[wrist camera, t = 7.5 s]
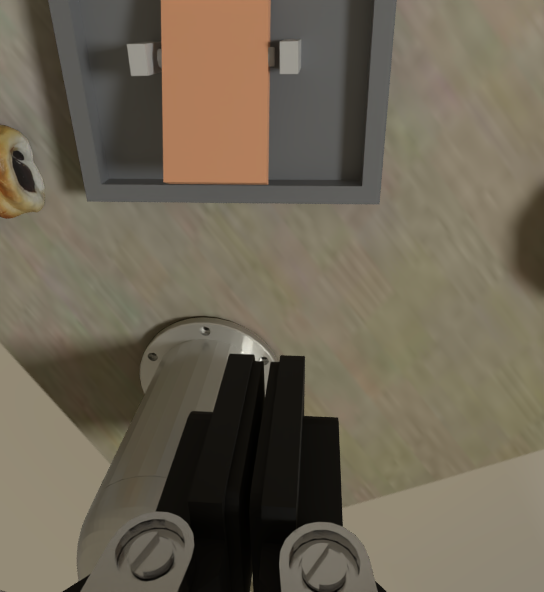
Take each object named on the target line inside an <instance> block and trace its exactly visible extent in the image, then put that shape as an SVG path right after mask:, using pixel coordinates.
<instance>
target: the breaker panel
mask: <svg viewBox="0 0 544 592" xmlns="http://www.w3.org/2000/svg"><path fill="white" fill-rule="evenodd" d="M396 1H397V0H271V17H270V47H274V48H275V66H274V67H270V95H269V172H268V185H252V184H168V183H165V182H163V116H162V68H160V67H159V65H158V61H157V50H158V49H162V45H161V0H48V2H49V7H50V12H51V18H52V23H53V28H54V33H55V38H56V43H57V48H58V53H59V59H60V64H61V69H62V74H63V79H64V84H65V89H66V94H67V100H68V105H69V110H70V115H71V120H72V125H73V130H74V135H75V141H76V146H77V151H78V156H79V161H80V166H81V171H82V176H83V182H84V187H85V192H86V197H87V201H101V202H199V203H298V204H379V202H380V190H381V179H382V167H383V155H384V143H385V131H386V119H387V108H388V96H389V84H390V72H391V60H392V48H393V37H394V25H395V13H396Z"/></svg>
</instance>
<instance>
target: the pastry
mask: <svg viewBox="0 0 544 592" xmlns="http://www.w3.org/2000/svg"><path fill="white" fill-rule="evenodd" d="M44 190H45V187H44V183H43V179H42V176H41V175H40V173H39V170H38V168H37V167H36V165H35V164H34V162H33V153H32V150H31V147H30V144H29V141H28V140H27V139H26V138H25V137H24V136H23V135H22V134H21V133H20V132H19V131H17V130H15V129H13V128H11V127H8V126H4V125H0V217H2V218H14V217H16V216H19V215H21V214H23V213H28V212H39V211H40V210H41V209H42V208H43V206H44V203H45V200H44V198H45V195H44Z"/></svg>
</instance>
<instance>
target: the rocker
mask: <svg viewBox="0 0 544 592" xmlns="http://www.w3.org/2000/svg"><path fill="white" fill-rule="evenodd" d="M270 17H271V0H161V45H162V49H158V50H157V61H158V65H159V67H160V68H162V116H163V182H165V183H168V184H252V185H268V172H269V95H270V67H274V66H275V48H274V47H270Z"/></svg>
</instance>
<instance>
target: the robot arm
mask: <svg viewBox="0 0 544 592" xmlns="http://www.w3.org/2000/svg"><path fill="white" fill-rule="evenodd" d="M207 327H208V328H207ZM139 376H140V382H141V387H142V389H143V392H144V396H143V399H142V401H141V403H140V405H139V407H138V409H137V411H136V413H135V415H134V417H133V419H132V421H131V424H130V426H129V428H128V430H127V432H126V434H125V436H124V438H123V440H122V442H121V444H120V446H119V449H118V451H117V453H116V455H115V457H114V459H113V461H112V463H111V465H110V467H109V469H108V471H107V474H106V476H105V478H104V480H103V482H102V484H101V486H100V488H99V490H98V492H97V494H96V496H95V499H94V501H93V503H92V505H91V507H90V509H89V511H88V513H87V516H86V518H85V520H84V523H83V525H82V528H81V532H80V536H79V541H78V549H77V571H78V580H79V582H77V583H76V584H74V585H72V586H71V587H69V588H68V589H66V590H65V591H63V592H250V585H251V577H252V572H253V589H254V592H386V591H385V590H384V589H383V588H382V587H381V586H380V585H379V584H378V583H377V582H376V581H375V579H374V575H373V571H372V567H371V563H370V559H369V556H368V554H367V552H366V549H365V547H364V545H363V544H362V543H361V541H360V540H359V539H358V538H357V537H356V535H355V534H353V533H352V532H350V531H349V530H347V529H346V528H344V527H343V522H342V497H341V471H340V446H339V422H338V418H334V417H313V416H304V384H305V356H284V355H281V356H280V362H278V360H277V358H276V356H275V354H274V353H273V351H272V350H271V349H270V347H269V346H268V345H267V344H266V343H265V342H264V341H263V340H262V339H261V338H260V337H259V336H258V335H256V334H255V333H253V332H252V331H250V330H248V329H247V328H245V327H243V326H241V325H238V324H236V323H233V322H231V321H226V320H222V319H218V318H206V317H201V318H191V319H186V320H183V321H179V322H176V323H174V324H172V325H170V326H168V327H166V328H164V329H163V330H162V331H161V332H159V333H158V334H157V335H156V336H155V337H154V338H153V340H152V341H151V342H150V343H149V345H148V347H147V349H146V350H145V352H144V354H143V357H142V360H141V364H140V375H139ZM0 592H5V591H2V590H0Z"/></svg>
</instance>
